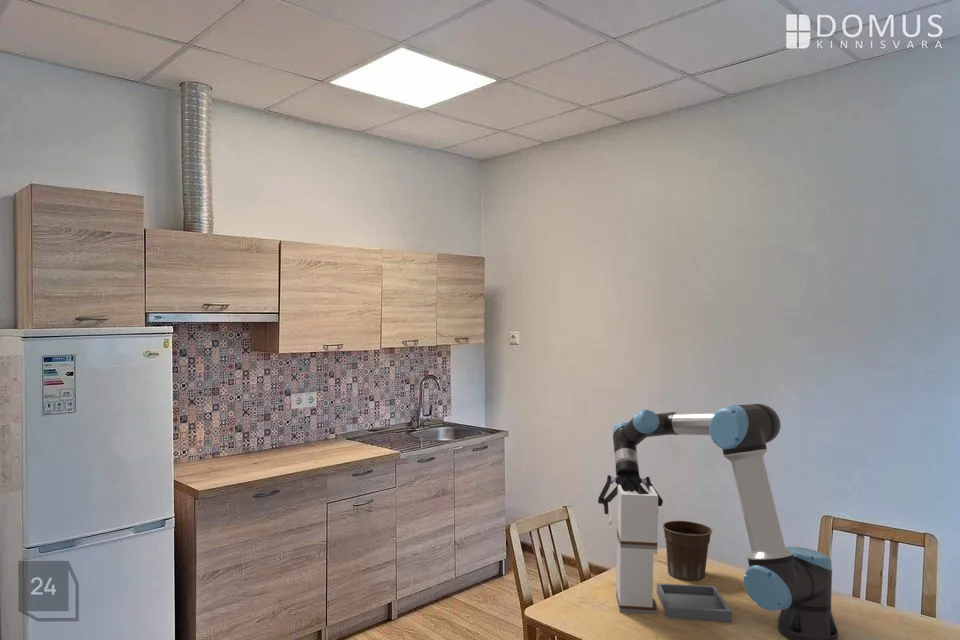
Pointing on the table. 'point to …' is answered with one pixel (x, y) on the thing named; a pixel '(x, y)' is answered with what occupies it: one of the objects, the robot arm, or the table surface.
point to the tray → (693, 602)
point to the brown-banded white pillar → (636, 551)
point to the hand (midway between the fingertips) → (632, 524)
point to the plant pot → (687, 549)
